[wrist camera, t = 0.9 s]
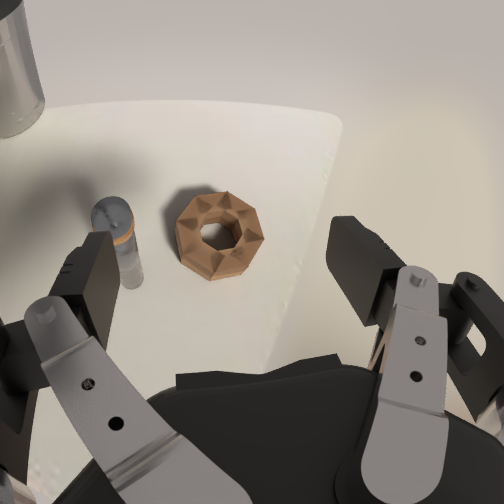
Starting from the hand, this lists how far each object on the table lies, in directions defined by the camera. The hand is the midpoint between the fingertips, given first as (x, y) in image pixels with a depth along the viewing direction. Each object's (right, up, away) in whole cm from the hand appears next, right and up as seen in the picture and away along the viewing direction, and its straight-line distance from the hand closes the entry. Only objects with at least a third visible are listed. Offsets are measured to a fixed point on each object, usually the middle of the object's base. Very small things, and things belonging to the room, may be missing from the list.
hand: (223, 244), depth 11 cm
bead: (-3, +1, +22) cm, 22 cm away
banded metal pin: (-11, -3, +18) cm, 21 cm away
